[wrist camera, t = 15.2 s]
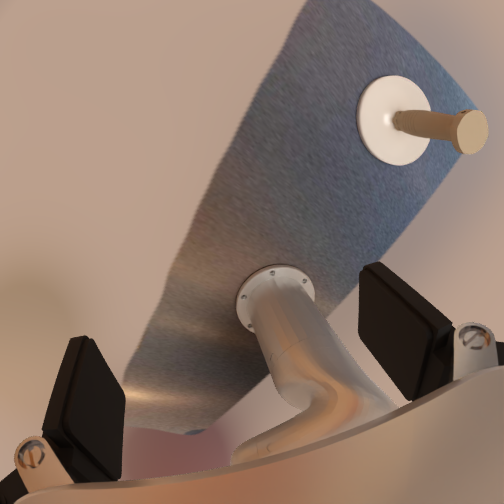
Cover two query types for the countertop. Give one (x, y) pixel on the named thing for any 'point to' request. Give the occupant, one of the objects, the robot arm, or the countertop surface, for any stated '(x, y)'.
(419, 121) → the handle
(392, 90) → the plate
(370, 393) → the robot arm
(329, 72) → the countertop surface
